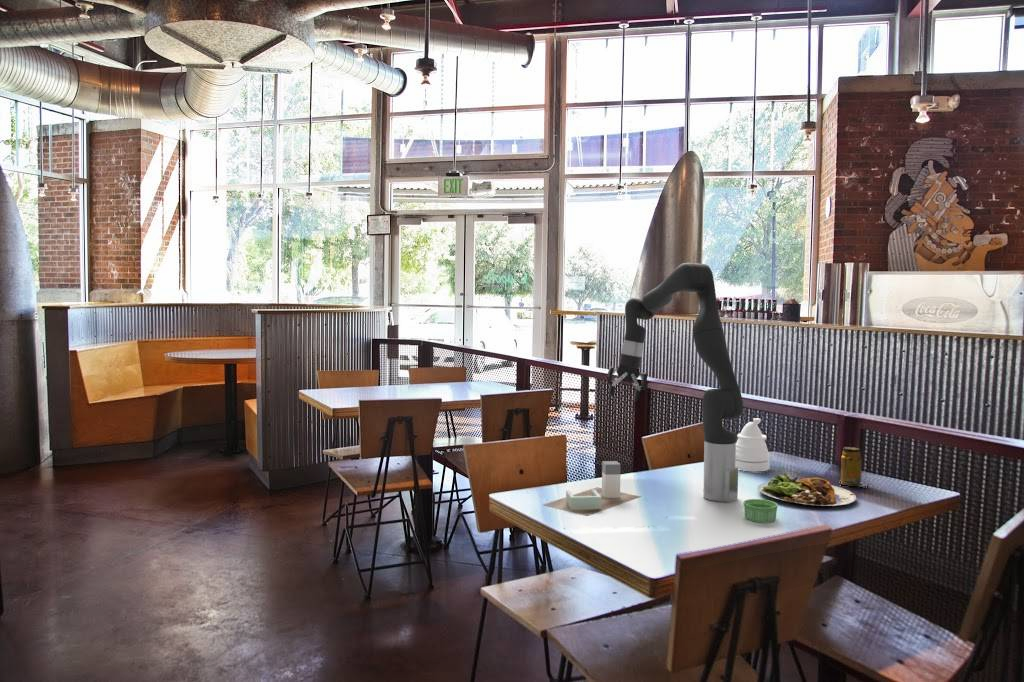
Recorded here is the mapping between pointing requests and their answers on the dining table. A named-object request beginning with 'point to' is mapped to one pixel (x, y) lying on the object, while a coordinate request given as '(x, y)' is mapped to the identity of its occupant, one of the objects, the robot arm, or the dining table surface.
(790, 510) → the dining table surface
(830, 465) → the dining table surface
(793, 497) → the plate of food
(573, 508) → the end holder
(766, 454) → the honey pot
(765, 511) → the ramekin
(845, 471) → the condiment
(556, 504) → the board
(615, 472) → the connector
